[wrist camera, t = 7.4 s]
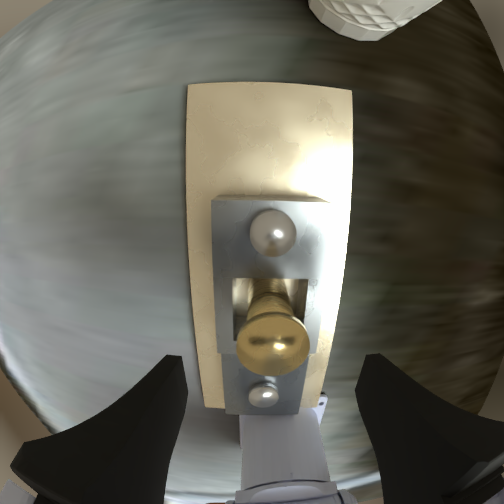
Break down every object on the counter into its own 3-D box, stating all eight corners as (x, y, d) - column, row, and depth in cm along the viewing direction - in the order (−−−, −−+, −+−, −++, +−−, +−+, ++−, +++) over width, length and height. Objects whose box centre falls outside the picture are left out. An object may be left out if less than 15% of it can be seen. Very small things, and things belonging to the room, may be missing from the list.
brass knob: (290, 309, 18) (305, 375, 12) (242, 309, 18) (237, 375, 12) (293, 264, 17) (314, 317, 11) (242, 264, 17) (235, 318, 11)
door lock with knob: (315, 399, 22) (323, 438, 18) (206, 399, 22) (199, 438, 18) (346, 94, 15) (375, 73, 10) (191, 89, 15) (170, 64, 10)
